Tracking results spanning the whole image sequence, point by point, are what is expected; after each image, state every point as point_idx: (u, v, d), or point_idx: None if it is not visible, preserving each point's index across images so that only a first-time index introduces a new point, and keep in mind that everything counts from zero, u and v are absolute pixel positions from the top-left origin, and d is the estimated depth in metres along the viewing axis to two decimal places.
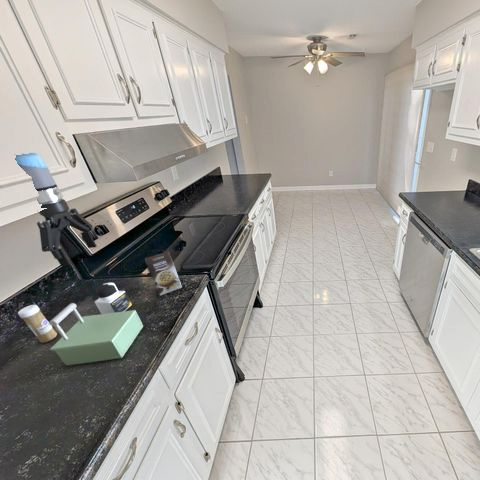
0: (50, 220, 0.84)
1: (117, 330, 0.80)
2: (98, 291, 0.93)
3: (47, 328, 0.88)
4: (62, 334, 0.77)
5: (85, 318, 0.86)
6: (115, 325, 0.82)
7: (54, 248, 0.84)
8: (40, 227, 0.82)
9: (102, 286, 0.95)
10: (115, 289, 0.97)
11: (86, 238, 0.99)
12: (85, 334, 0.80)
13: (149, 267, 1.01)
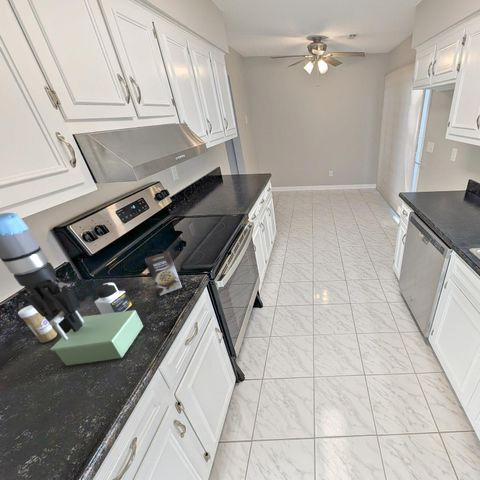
0: (59, 280, 0.74)
1: (117, 330, 0.80)
2: (98, 291, 0.93)
3: (47, 328, 0.88)
4: (62, 334, 0.77)
5: (85, 318, 0.86)
6: (115, 325, 0.82)
7: None
8: (67, 291, 0.74)
9: (102, 286, 0.95)
10: (115, 289, 0.97)
11: (63, 320, 0.79)
12: (85, 334, 0.80)
13: (149, 267, 1.01)
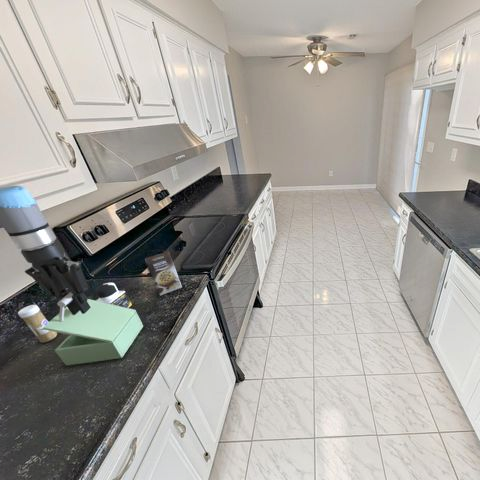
0: (67, 258, 0.71)
1: (118, 329, 0.80)
2: (98, 291, 0.93)
3: None
4: (61, 316, 0.74)
5: None
6: (115, 322, 0.82)
7: None
8: (76, 269, 0.72)
9: (102, 286, 0.95)
10: (115, 289, 0.97)
11: (71, 301, 0.76)
12: (83, 322, 0.78)
13: (149, 267, 1.01)
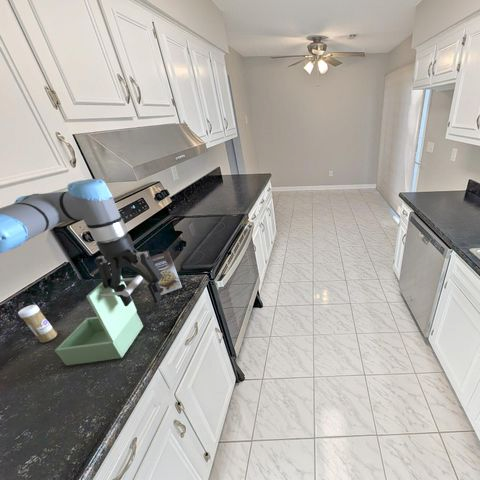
0: (136, 251, 0.73)
1: (120, 329, 0.80)
2: None
3: (47, 328, 0.88)
4: (108, 295, 0.73)
5: None
6: (123, 318, 0.82)
7: None
8: (146, 258, 0.73)
9: None
10: None
11: None
12: (109, 305, 0.76)
13: None
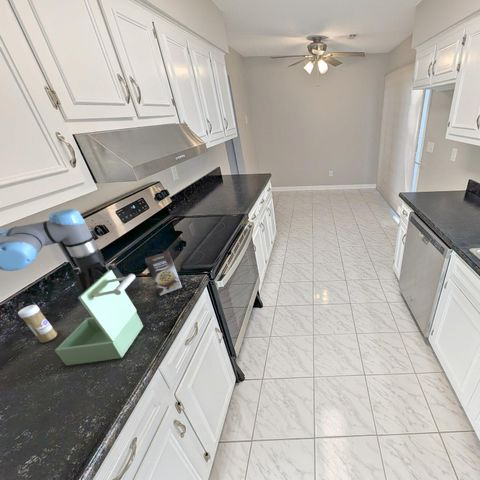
0: (106, 263, 0.92)
1: (120, 329, 0.80)
2: None
3: (47, 328, 0.88)
4: (101, 295, 0.73)
5: (111, 276, 0.80)
6: (121, 318, 0.81)
7: None
8: (113, 269, 0.92)
9: None
10: None
11: None
12: (104, 306, 0.76)
13: (149, 267, 1.01)
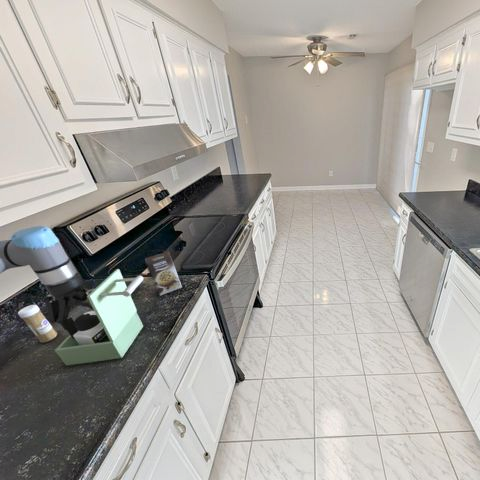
0: (86, 289, 0.76)
1: (120, 329, 0.80)
2: (77, 323, 0.77)
3: (47, 328, 0.88)
4: (109, 295, 0.73)
5: (118, 275, 0.81)
6: (123, 318, 0.82)
7: None
8: None
9: (82, 317, 0.79)
10: (98, 319, 0.81)
11: (71, 326, 0.80)
12: (109, 305, 0.76)
13: (149, 267, 1.01)
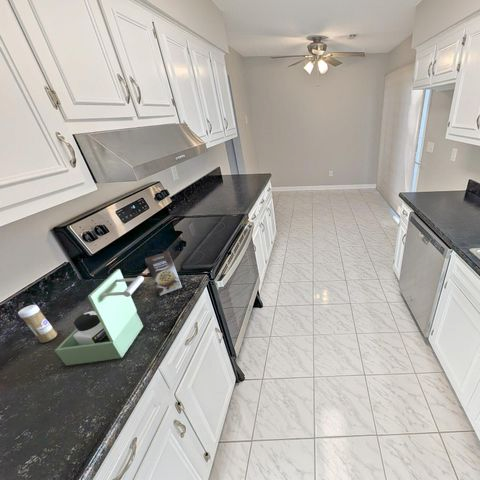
0: None
1: (120, 329, 0.80)
2: (77, 323, 0.77)
3: (47, 328, 0.88)
4: (109, 295, 0.73)
5: (119, 275, 0.81)
6: (123, 318, 0.82)
7: None
8: None
9: (82, 317, 0.79)
10: (98, 319, 0.81)
11: None
12: (110, 305, 0.76)
13: (149, 267, 1.01)
